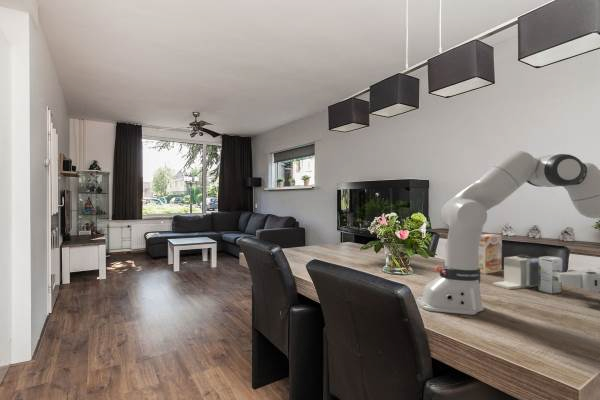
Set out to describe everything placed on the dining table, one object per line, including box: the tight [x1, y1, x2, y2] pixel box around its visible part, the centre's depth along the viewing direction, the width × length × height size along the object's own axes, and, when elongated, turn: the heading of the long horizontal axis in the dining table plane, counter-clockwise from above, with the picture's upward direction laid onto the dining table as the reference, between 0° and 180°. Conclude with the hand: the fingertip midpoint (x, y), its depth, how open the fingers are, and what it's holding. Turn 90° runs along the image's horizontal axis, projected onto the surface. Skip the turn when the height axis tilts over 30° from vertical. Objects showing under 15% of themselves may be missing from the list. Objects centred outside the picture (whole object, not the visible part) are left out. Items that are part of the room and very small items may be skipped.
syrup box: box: [537, 255, 563, 295], centre depth 138 cm, size 6×6×14 cm
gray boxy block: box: [517, 253, 539, 285], centre depth 147 cm, size 10×12×11 cm
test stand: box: [492, 255, 539, 290], centre depth 149 cm, size 8×26×12 cm, turn 109°
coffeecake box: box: [479, 233, 503, 275], centre depth 176 cm, size 15×7×20 cm, turn 119°
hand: (561, 272), depth 134 cm, fingers open, 8 cm apart
